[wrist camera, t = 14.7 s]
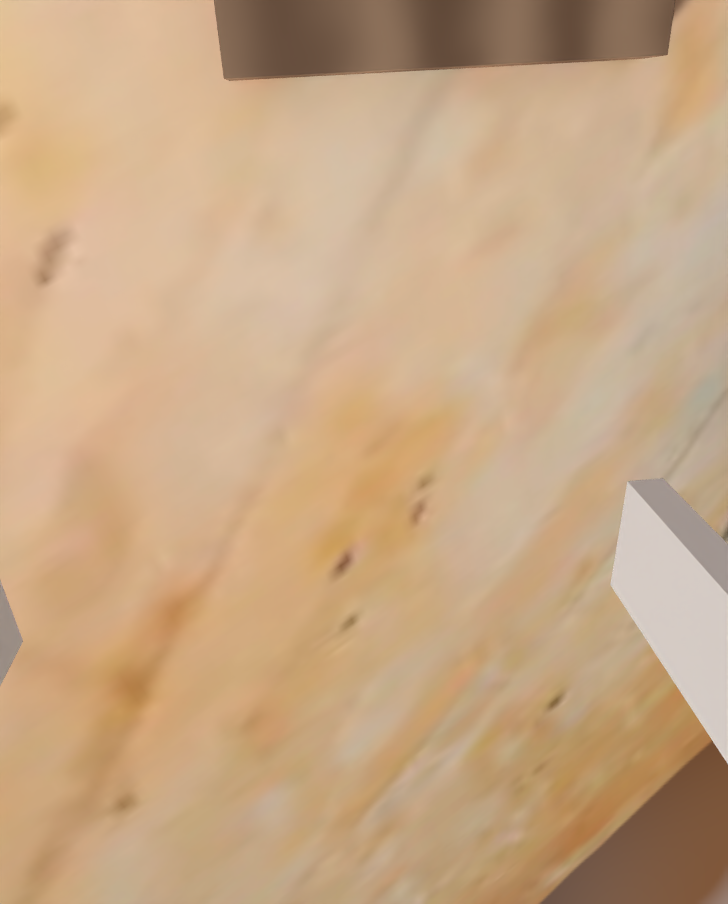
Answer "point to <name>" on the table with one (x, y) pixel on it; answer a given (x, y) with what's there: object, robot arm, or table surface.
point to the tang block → (431, 34)
